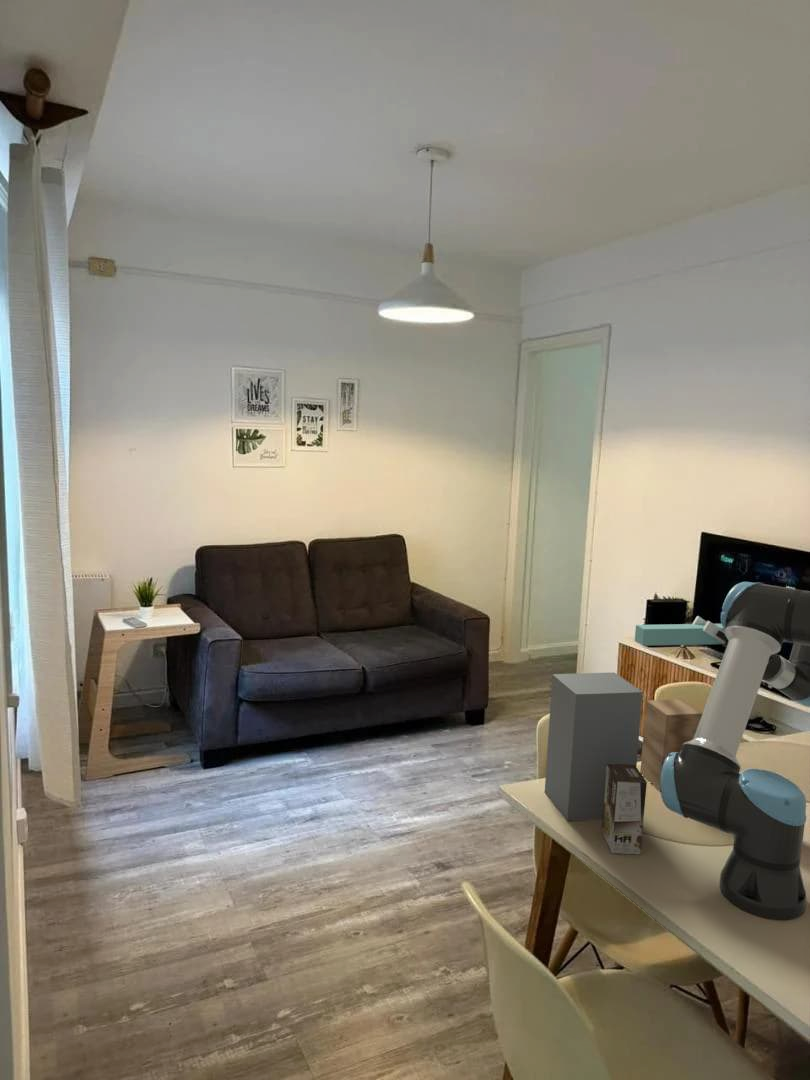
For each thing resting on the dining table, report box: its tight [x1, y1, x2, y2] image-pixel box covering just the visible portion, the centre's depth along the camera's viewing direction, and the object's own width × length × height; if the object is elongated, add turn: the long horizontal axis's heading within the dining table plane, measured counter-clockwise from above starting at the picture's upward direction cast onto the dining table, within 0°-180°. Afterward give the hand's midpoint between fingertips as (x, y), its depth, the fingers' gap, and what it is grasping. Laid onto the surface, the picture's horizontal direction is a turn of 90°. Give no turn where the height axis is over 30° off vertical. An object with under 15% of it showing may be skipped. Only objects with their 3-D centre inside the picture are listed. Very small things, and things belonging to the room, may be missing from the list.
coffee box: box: [601, 764, 648, 856], centre depth 164 cm, size 9×6×16 cm
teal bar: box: [634, 623, 726, 647], centre depth 185 cm, size 24×4×4 cm, turn 100°
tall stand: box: [544, 672, 644, 822], centre depth 179 cm, size 16×14×30 cm
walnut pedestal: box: [639, 698, 703, 792], centre depth 193 cm, size 10×10×20 cm
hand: (700, 623), depth 185 cm, fingers closed on teal bar, 4 cm apart
